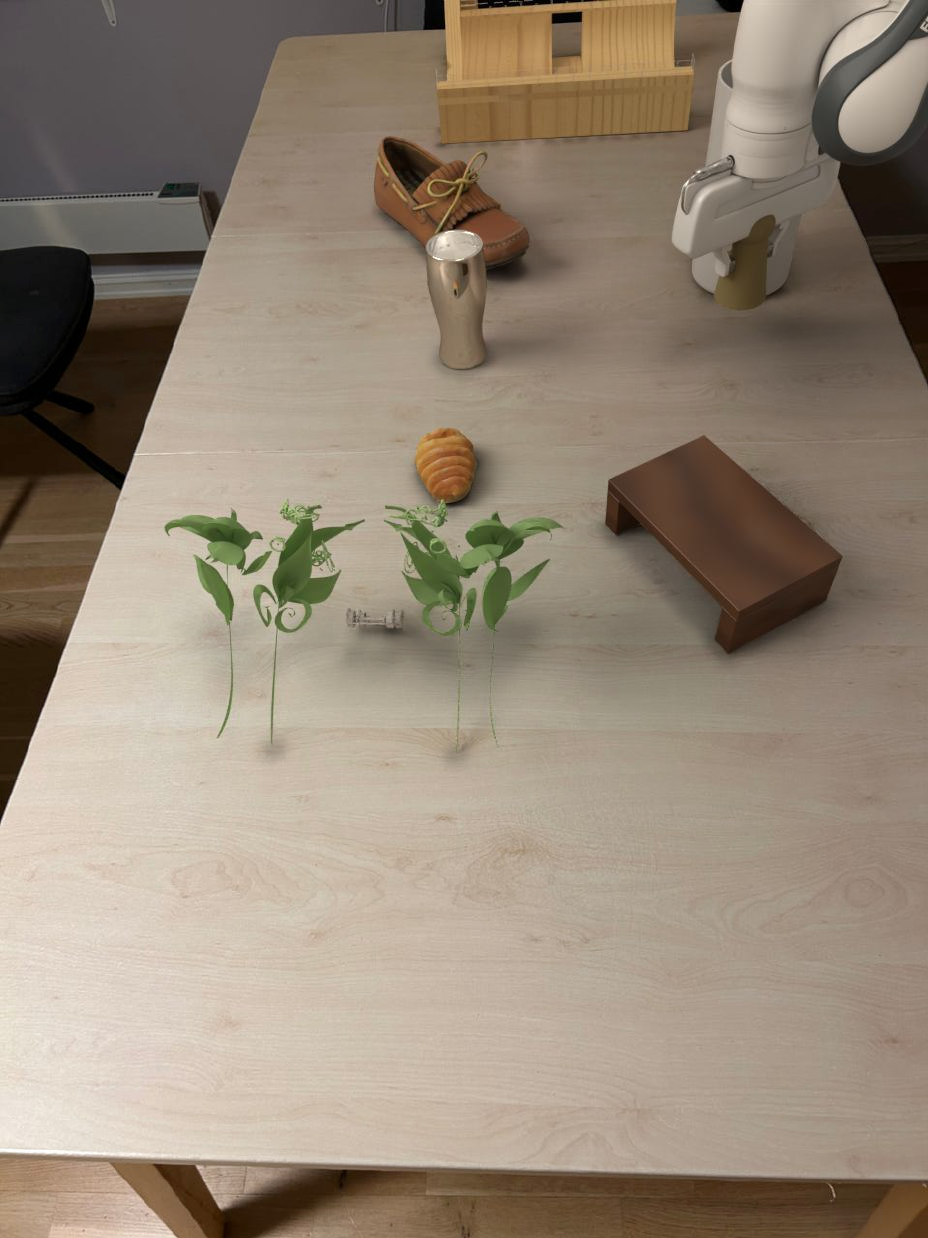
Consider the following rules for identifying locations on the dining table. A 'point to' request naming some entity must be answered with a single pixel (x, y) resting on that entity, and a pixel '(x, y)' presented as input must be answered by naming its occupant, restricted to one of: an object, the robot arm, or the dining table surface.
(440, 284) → the beer glass
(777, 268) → the cylinder vase
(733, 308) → the olive yellow pawn
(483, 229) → the moccasin
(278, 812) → the dining table surface
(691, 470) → the shelf
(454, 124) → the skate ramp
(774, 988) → the dining table surface
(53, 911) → the dining table surface
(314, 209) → the dining table surface
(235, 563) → the plant cuttings
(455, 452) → the pastry
